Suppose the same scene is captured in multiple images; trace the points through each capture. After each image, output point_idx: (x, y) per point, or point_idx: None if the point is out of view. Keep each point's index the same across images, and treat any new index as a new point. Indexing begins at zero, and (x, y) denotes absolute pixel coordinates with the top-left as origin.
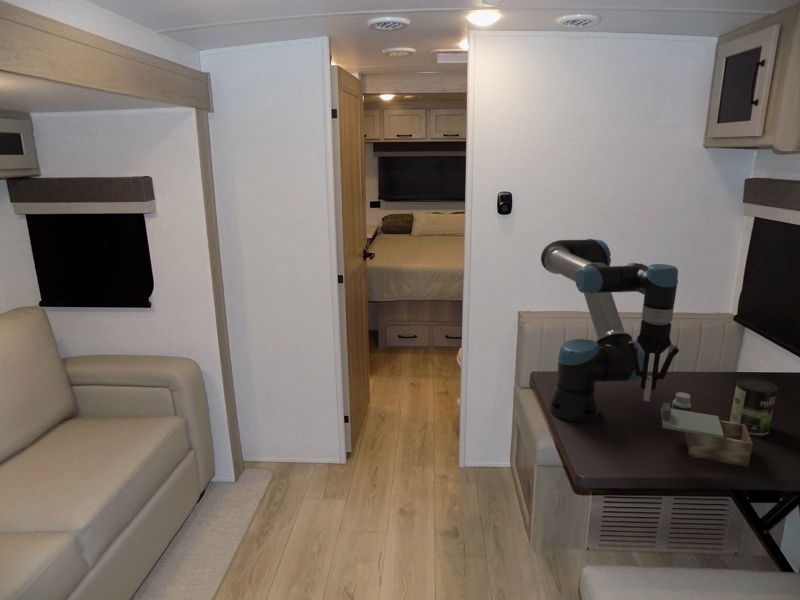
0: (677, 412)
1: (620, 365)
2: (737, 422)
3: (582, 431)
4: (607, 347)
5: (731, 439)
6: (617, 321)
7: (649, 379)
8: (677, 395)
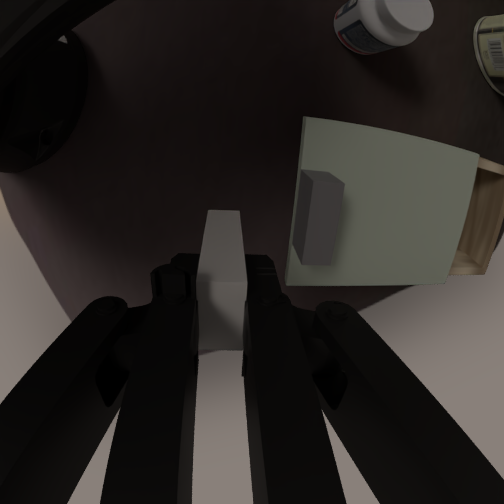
0: (364, 156)
1: (7, 34)
2: (494, 69)
3: (60, 209)
4: None
5: (455, 271)
6: None
7: (223, 338)
8: (389, 9)
